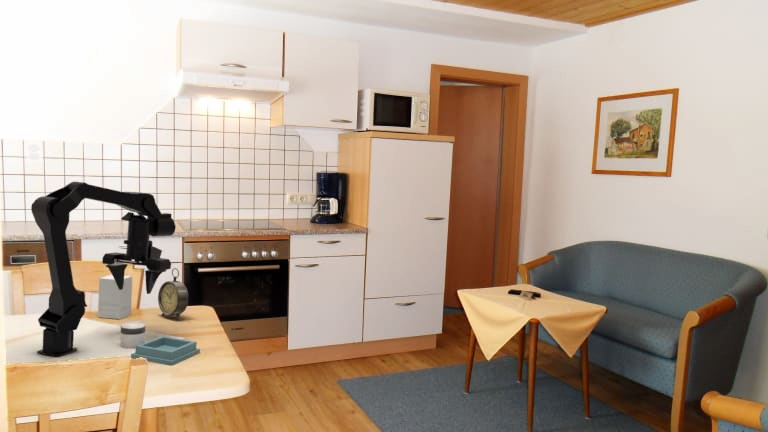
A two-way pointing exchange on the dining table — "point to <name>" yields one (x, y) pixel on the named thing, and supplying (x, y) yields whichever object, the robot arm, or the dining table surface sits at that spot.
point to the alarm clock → (173, 297)
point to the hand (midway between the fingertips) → (134, 291)
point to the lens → (132, 333)
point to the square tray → (166, 350)
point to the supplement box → (114, 298)
